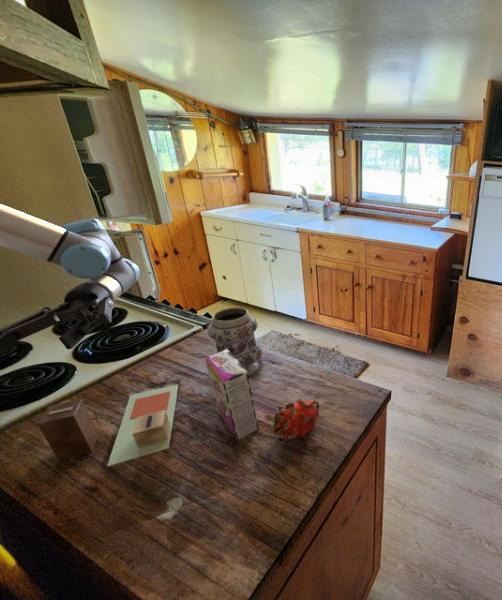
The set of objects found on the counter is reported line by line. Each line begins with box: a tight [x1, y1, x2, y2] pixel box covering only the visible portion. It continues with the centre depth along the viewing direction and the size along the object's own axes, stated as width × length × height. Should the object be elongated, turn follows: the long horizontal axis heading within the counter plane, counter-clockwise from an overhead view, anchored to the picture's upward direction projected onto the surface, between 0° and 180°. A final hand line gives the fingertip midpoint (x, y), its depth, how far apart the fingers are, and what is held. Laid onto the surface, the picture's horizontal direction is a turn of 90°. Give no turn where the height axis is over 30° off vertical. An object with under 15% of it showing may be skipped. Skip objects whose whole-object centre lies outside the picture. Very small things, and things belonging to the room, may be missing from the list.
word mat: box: [106, 383, 179, 468], centre depth 73 cm, size 10×22×1 cm, turn 27°
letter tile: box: [132, 410, 170, 448], centre depth 68 cm, size 5×5×4 cm
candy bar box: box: [204, 349, 259, 441], centre depth 70 cm, size 11×5×16 cm, turn 45°
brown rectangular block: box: [37, 398, 99, 461], centre depth 64 cm, size 5×5×10 cm
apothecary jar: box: [207, 306, 263, 379], centre depth 87 cm, size 12×12×18 cm
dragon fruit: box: [272, 398, 320, 442], centre depth 71 cm, size 8×8×12 cm
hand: (24, 351), depth 60 cm, fingers open, 13 cm apart
